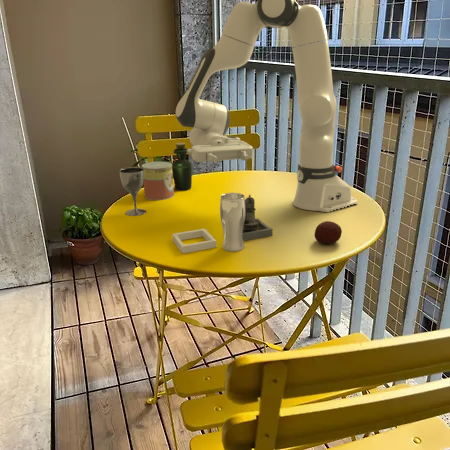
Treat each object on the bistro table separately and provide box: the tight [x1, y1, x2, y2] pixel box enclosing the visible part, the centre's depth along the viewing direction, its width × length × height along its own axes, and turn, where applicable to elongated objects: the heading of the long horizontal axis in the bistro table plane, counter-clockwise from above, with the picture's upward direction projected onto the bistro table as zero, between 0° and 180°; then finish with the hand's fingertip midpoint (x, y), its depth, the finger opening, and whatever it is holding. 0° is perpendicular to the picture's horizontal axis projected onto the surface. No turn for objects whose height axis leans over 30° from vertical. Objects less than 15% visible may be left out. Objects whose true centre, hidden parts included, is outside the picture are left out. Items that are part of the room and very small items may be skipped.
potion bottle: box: [172, 142, 193, 192], centre depth 178 cm, size 8×8×18 cm
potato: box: [314, 220, 343, 245], centre depth 128 cm, size 7×8×6 cm
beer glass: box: [219, 192, 246, 253], centre depth 124 cm, size 7×7×15 cm
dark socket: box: [243, 218, 273, 242], centre depth 136 cm, size 10×10×2 cm
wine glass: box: [119, 166, 147, 217], centre depth 153 cm, size 8×8×15 cm
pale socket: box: [171, 228, 218, 254], centre depth 130 cm, size 10×10×2 cm
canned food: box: [141, 160, 175, 201], centre depth 171 cm, size 11×11×12 cm
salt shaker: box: [243, 194, 260, 233], centre depth 135 cm, size 6×6×12 cm
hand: (231, 159), depth 140 cm, fingers open, 8 cm apart
